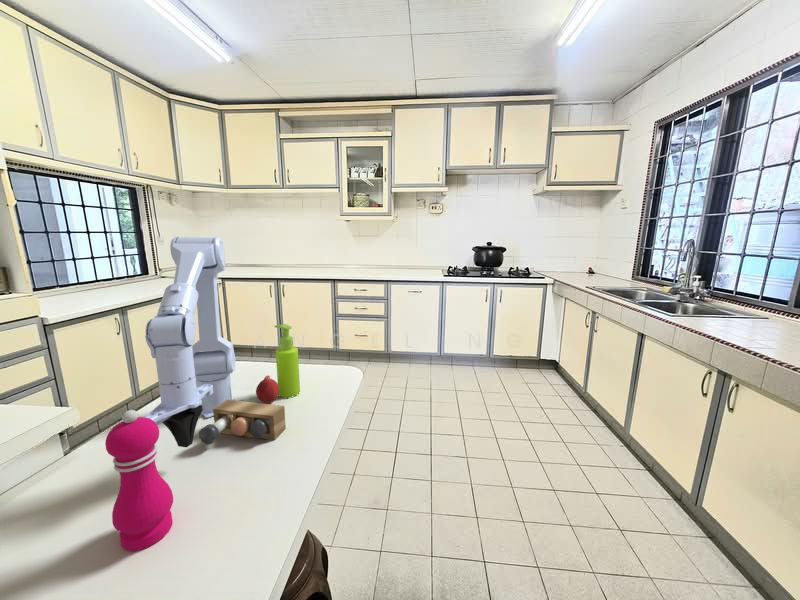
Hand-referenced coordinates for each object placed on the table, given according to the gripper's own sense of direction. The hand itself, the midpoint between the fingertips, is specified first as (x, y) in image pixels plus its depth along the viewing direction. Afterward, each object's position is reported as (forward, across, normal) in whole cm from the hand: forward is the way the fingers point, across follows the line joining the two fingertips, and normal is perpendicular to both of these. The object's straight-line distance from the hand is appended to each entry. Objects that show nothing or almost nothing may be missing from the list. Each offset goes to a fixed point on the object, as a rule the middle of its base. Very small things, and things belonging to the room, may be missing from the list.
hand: (185, 444), depth 64 cm
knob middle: (+3, +12, -5) cm, 13 cm away
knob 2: (+3, +12, -9) cm, 16 cm away
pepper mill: (+5, -14, -6) cm, 16 cm away
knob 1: (+3, +8, 0) cm, 9 cm away
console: (+4, +13, -5) cm, 15 cm away
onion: (+5, +26, -1) cm, 26 cm away
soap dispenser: (+5, +33, -3) cm, 33 cm away
